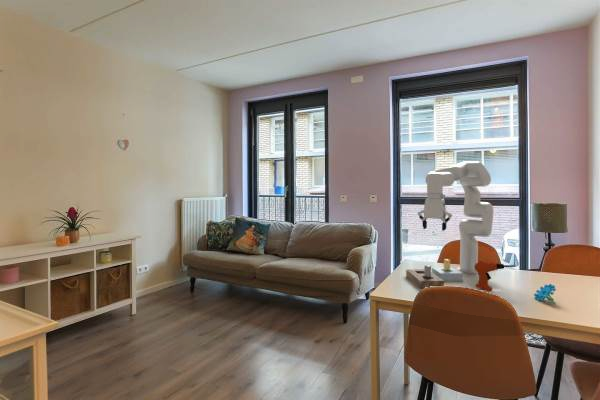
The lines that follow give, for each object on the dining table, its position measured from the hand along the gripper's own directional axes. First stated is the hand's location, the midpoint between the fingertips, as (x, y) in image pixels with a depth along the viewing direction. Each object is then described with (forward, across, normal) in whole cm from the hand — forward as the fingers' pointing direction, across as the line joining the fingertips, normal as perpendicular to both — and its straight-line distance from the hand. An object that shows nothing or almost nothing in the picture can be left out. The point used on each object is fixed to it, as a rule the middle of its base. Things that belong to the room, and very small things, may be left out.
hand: (434, 229), depth 179 cm
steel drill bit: (+29, +2, +3) cm, 29 cm away
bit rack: (+30, +5, -1) cm, 31 cm away
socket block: (+30, -1, -17) cm, 35 cm away
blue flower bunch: (+31, -47, -11) cm, 57 cm away
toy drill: (+31, -26, -12) cm, 42 cm away
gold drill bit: (+29, -1, -17) cm, 34 cm away
